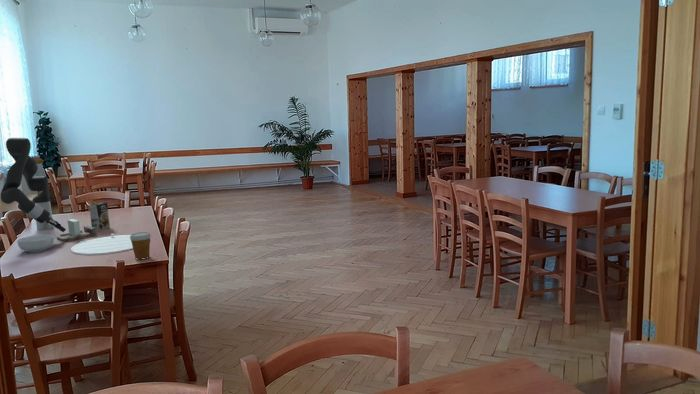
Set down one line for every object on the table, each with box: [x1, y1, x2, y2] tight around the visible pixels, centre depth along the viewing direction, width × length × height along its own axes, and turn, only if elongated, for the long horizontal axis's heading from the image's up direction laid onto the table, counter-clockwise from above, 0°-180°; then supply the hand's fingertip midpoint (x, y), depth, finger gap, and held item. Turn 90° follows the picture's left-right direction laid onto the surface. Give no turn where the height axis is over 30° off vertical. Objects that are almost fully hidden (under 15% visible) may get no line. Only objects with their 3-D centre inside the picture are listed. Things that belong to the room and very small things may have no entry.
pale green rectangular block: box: [66, 218, 81, 236], centre depth 314 cm, size 3×9×8 cm, turn 47°
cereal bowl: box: [16, 234, 55, 254], centre depth 288 cm, size 17×17×7 cm
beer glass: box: [129, 231, 151, 259], centre depth 264 cm, size 10×10×12 cm
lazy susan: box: [70, 233, 133, 256], centre depth 294 cm, size 40×39×3 cm
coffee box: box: [88, 202, 111, 232], centre depth 334 cm, size 9×6×16 cm
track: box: [56, 225, 98, 243], centre depth 315 cm, size 18×11×4 cm, turn 137°
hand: (64, 230), depth 310 cm, fingers closed
